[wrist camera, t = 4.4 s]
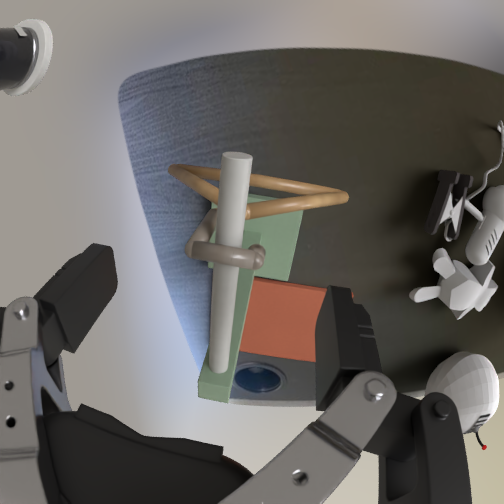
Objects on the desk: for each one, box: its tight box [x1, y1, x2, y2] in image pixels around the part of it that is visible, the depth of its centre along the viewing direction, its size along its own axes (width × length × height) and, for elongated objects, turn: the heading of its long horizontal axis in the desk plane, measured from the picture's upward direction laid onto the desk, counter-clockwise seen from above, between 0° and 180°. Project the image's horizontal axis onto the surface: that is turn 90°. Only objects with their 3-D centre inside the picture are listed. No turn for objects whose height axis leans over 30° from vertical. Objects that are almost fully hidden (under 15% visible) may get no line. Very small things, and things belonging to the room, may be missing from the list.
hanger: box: [168, 164, 349, 270], centre depth 17 cm, size 14×1×11 cm, turn 83°
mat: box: [239, 277, 353, 362], centre depth 42 cm, size 18×14×1 cm
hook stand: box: [198, 152, 303, 403], centre depth 24 cm, size 10×19×22 cm, turn 173°
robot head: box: [425, 351, 499, 450], centre depth 35 cm, size 16×14×20 cm
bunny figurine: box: [409, 248, 498, 319], centre depth 33 cm, size 10×5×15 cm
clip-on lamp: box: [424, 121, 504, 266], centre depth 26 cm, size 12×6×18 cm
